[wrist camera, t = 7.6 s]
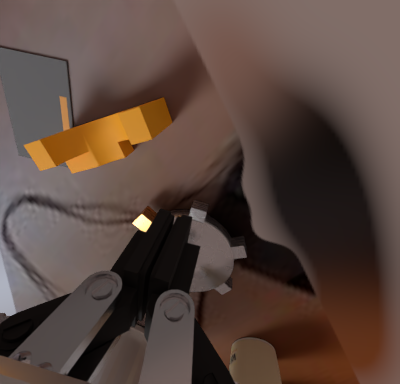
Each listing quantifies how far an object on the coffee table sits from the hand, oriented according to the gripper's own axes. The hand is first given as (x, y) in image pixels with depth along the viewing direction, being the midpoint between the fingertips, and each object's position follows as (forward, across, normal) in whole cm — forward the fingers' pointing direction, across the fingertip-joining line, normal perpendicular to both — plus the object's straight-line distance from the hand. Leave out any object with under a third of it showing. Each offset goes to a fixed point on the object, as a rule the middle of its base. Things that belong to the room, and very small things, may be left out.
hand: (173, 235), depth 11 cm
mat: (+15, +20, 0) cm, 25 cm away
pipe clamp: (+15, +10, 0) cm, 18 cm away
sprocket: (+13, 0, +13) cm, 19 cm away
